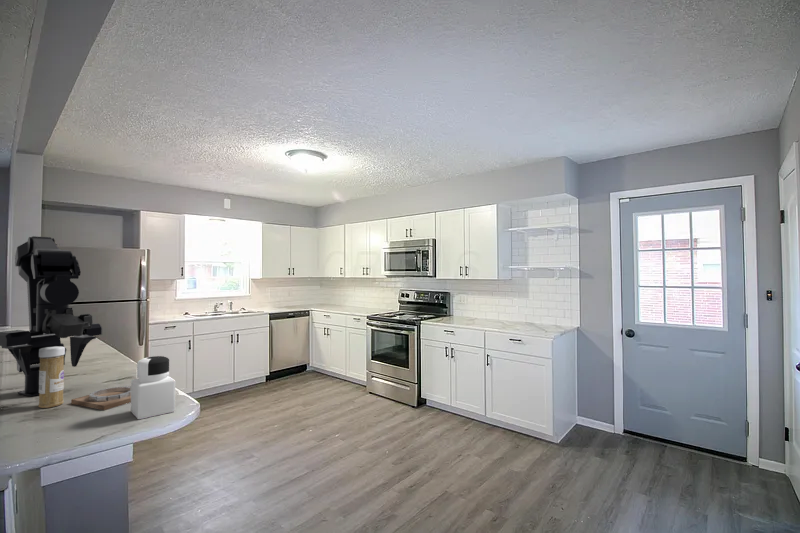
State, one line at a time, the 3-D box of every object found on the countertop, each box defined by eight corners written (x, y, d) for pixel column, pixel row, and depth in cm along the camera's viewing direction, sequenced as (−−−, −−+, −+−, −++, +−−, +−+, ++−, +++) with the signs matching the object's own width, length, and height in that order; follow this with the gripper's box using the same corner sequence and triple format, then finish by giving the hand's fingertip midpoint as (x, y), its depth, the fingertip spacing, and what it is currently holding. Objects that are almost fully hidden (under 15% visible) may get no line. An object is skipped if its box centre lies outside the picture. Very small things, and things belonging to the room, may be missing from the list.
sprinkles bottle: (62, 406, 91) (63, 347, 92) (35, 410, 89) (37, 350, 89) (65, 401, 95) (66, 345, 96) (40, 404, 93) (41, 346, 93)
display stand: (71, 403, 93) (71, 395, 93) (119, 391, 103) (119, 383, 104) (104, 410, 89) (104, 401, 89) (151, 396, 99) (151, 388, 99)
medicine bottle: (166, 404, 93) (167, 353, 93) (175, 411, 88) (176, 357, 88) (130, 411, 88) (131, 357, 88) (137, 420, 83) (138, 362, 83)
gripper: (22, 308, 81) (20, 384, 81) (117, 302, 98) (116, 365, 98) (-7, 306, 85) (-9, 379, 85) (88, 300, 102) (87, 361, 102)
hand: (51, 370), depth 92 cm, fingers open, 9 cm apart
